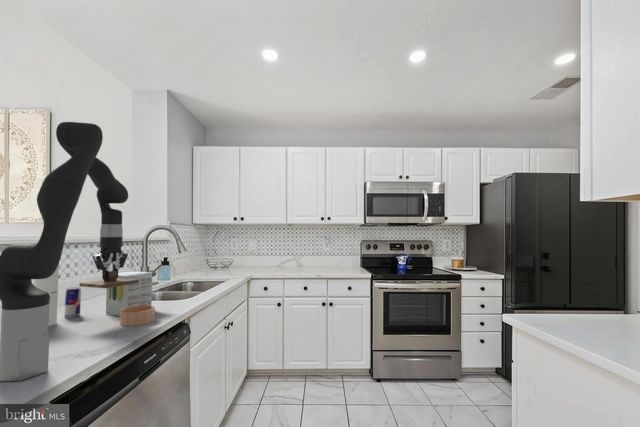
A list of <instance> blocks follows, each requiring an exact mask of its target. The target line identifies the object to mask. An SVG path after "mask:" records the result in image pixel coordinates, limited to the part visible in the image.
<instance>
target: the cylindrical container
mask: <svg viewBox="0 0 640 427" xmlns="http://www.w3.org/2000/svg"><path fill="white" fill-rule="evenodd" d="M59 269H60V263H59V264H58V267H57V269H56V271H55V272H54V273H53V275H51V276H50V277H48V278H46V279H34V286H35V287H37V288H38V289H40V290H43V291H46V292H48V293H49V297H50V299H49V320H48V327H51V326H55V325H57V322H58V321H57V320H58V297H59V274H60V273H59Z"/></svg>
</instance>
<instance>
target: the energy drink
mask: <svg viewBox="0 0 640 427" xmlns="http://www.w3.org/2000/svg"><path fill="white" fill-rule="evenodd" d="M64 294H65V296H64V297H65V298H64V318H65V319H73V318H77V317H79V316H81V305H82V304H81V301H82V300H81V298H82V289H81V286H78V287H77V286H74V287H68V288H66V289H65V293H64Z"/></svg>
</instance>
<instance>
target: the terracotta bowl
mask: <svg viewBox="0 0 640 427" xmlns="http://www.w3.org/2000/svg"><path fill="white" fill-rule="evenodd" d="M155 311H156V307H155V306H153V305H152V306H134V307H128V308H124V309H122V310H120V316H119V325H120V326H123V327H136V326H141V325H146V324H151V323H153V322H154V321H155V320H156V318H155V317H156V316H155V315H156V312H155ZM152 321H153V322H152ZM150 322H151V323H150Z"/></svg>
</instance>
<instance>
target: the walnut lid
mask: <svg viewBox="0 0 640 427" xmlns="http://www.w3.org/2000/svg"><path fill="white" fill-rule="evenodd" d="M108 271H109V280H108V281H104V280H103V279H97V280H92V281H86V282H80V283H79V285H78V287H80V288H81V287H82V288H83V287H84V288H96V289H107V288H112V287H117V286H122V285H128V284H133V283H139V280H137V279H121V278H117V279H116V275H117V271H112V270H108Z"/></svg>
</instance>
